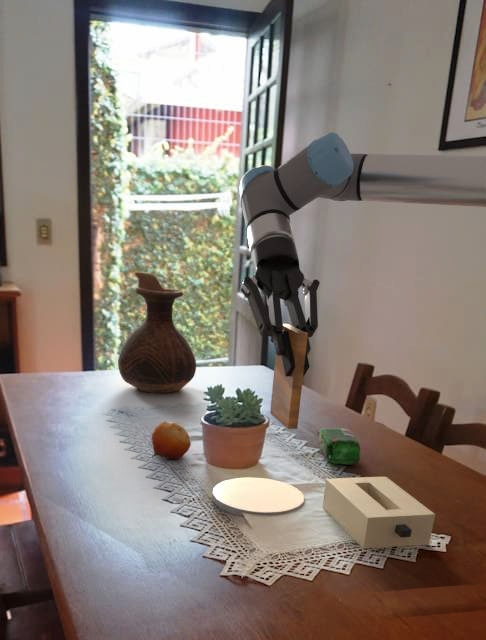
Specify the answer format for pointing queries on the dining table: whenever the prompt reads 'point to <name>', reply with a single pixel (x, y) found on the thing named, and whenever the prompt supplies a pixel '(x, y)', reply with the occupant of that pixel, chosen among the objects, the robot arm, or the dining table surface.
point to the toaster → (377, 512)
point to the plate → (256, 496)
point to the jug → (157, 344)
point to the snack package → (339, 446)
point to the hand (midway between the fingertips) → (297, 371)
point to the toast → (289, 381)
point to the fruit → (170, 441)
